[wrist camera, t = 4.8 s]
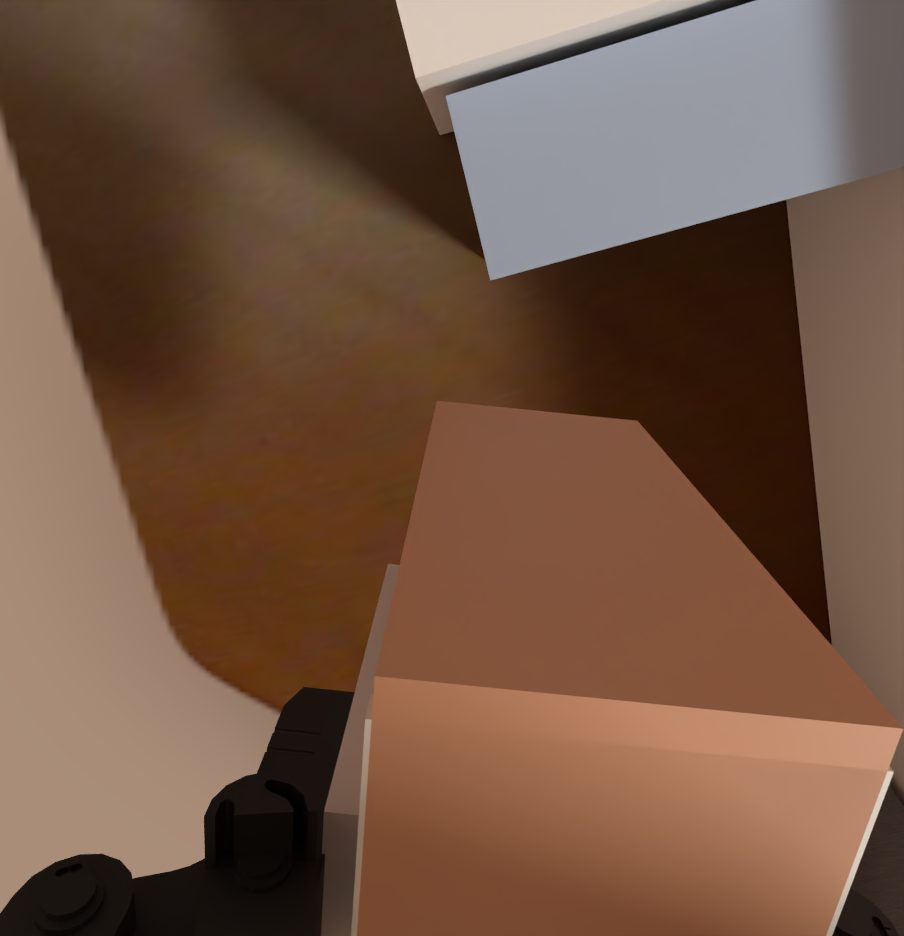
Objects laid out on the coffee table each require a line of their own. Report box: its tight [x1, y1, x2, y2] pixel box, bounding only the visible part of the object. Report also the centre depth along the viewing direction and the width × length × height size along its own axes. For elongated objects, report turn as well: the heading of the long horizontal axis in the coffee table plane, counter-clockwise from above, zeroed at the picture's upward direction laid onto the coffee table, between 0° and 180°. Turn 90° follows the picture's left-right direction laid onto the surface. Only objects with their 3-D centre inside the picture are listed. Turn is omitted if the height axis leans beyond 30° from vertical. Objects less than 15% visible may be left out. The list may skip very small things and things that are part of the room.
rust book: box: [351, 401, 903, 936], centre depth 11 cm, size 4×10×9 cm, turn 175°
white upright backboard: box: [396, 0, 904, 806], centre depth 21 cm, size 32×12×12 cm, turn 15°
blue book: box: [446, 0, 904, 280], centre depth 19 cm, size 4×10×9 cm, turn 105°
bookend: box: [850, 786, 904, 936], centre depth 27 cm, size 2×10×10 cm, turn 105°
